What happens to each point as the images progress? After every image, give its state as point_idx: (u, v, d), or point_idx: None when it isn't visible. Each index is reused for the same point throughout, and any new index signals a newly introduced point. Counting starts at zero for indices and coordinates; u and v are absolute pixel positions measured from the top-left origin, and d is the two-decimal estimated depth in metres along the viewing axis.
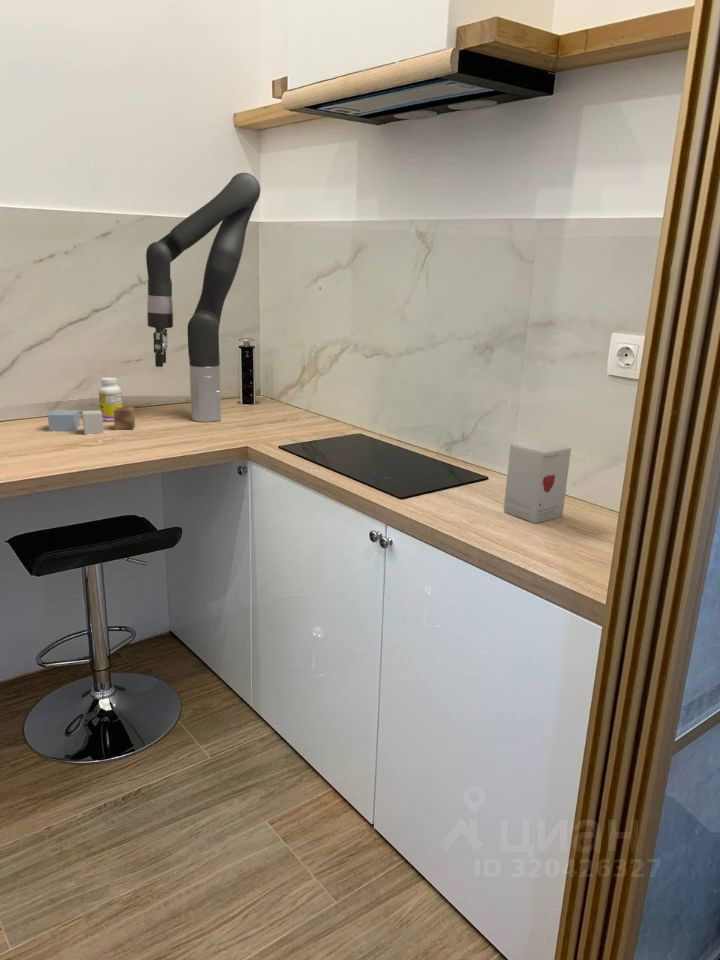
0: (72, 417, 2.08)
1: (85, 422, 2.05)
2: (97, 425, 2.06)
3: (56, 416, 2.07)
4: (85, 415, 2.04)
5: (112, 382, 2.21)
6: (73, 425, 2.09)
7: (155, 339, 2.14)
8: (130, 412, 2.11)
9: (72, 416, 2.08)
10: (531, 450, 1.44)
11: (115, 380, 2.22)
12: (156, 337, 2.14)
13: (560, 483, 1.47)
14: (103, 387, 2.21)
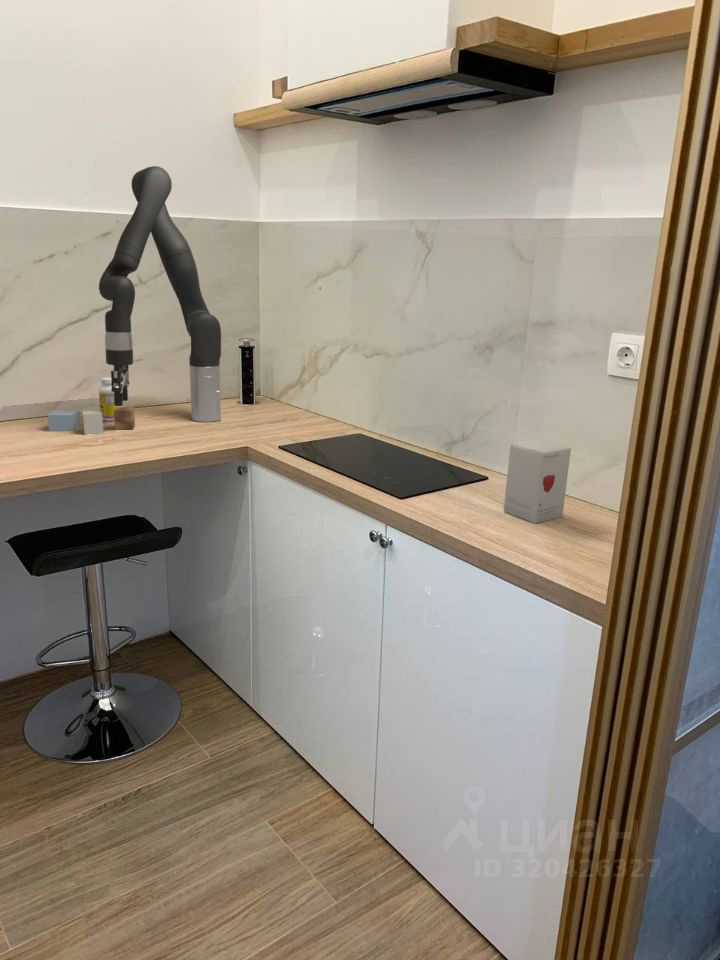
0: (72, 417, 2.08)
1: (85, 422, 2.05)
2: (97, 425, 2.06)
3: (56, 416, 2.07)
4: (85, 415, 2.04)
5: None
6: (73, 425, 2.09)
7: (113, 378, 2.04)
8: (130, 412, 2.11)
9: (72, 416, 2.08)
10: (531, 450, 1.44)
11: None
12: (114, 375, 2.04)
13: (560, 483, 1.47)
14: (103, 387, 2.21)
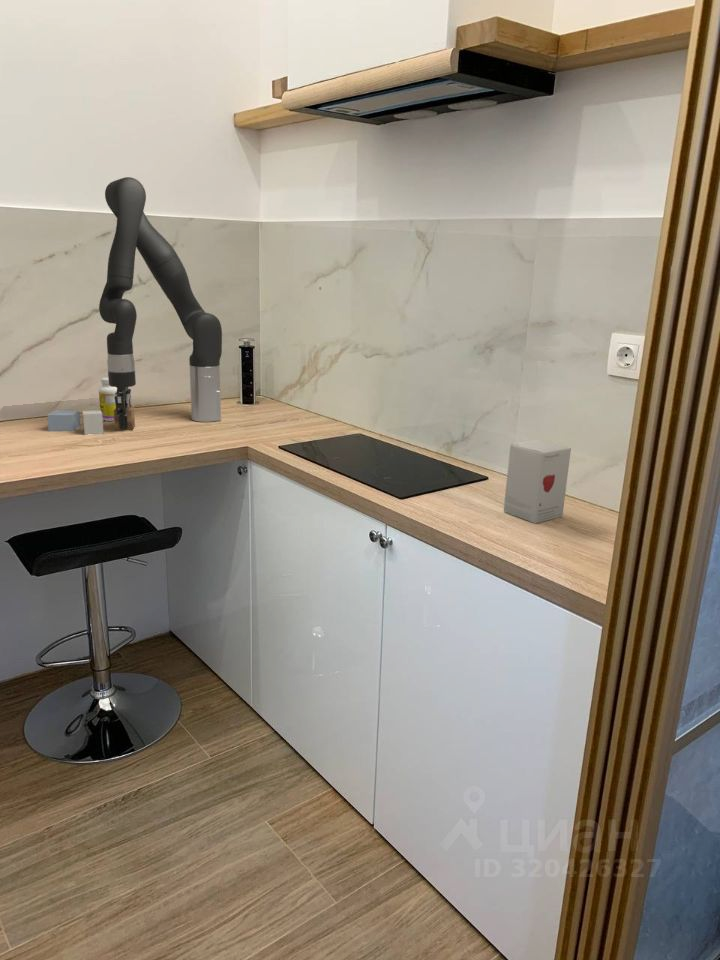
0: (71, 417, 2.08)
1: (85, 422, 2.05)
2: (97, 425, 2.06)
3: (55, 416, 2.07)
4: (85, 415, 2.04)
5: None
6: (72, 425, 2.09)
7: (117, 403, 2.06)
8: (130, 412, 2.11)
9: (71, 416, 2.08)
10: (531, 450, 1.44)
11: None
12: (118, 401, 2.06)
13: (560, 483, 1.47)
14: (103, 387, 2.21)
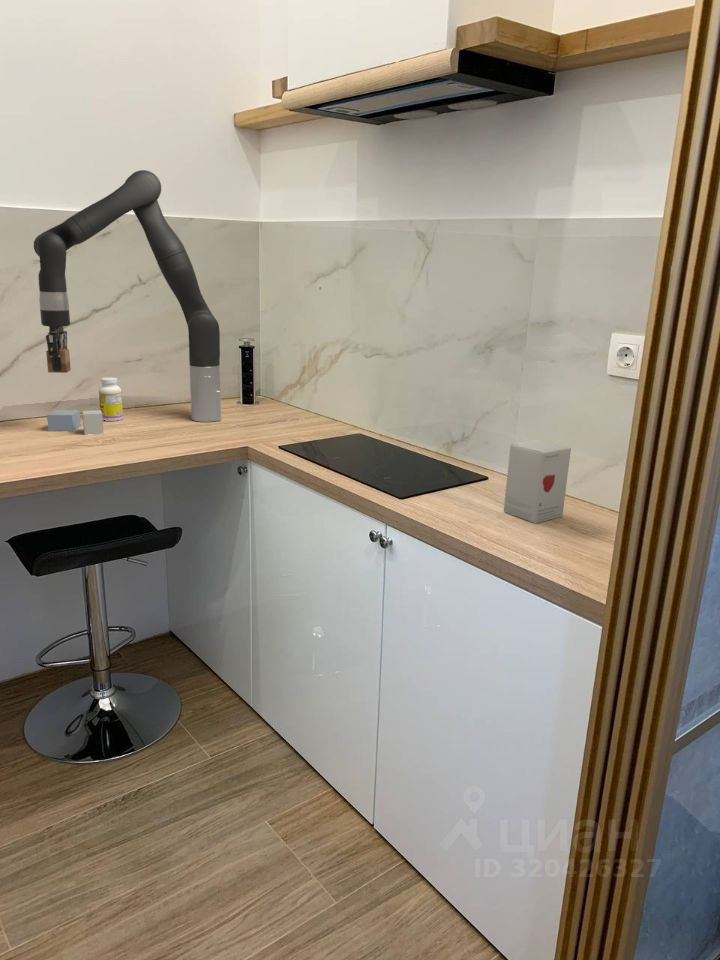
0: (70, 417, 2.08)
1: (85, 422, 2.05)
2: (97, 425, 2.06)
3: (55, 416, 2.08)
4: (85, 415, 2.04)
5: (112, 382, 2.21)
6: (72, 425, 2.09)
7: (48, 342, 1.99)
8: (64, 353, 2.04)
9: (71, 416, 2.08)
10: (531, 450, 1.44)
11: (115, 380, 2.22)
12: (50, 340, 1.98)
13: (560, 483, 1.47)
14: (103, 387, 2.21)
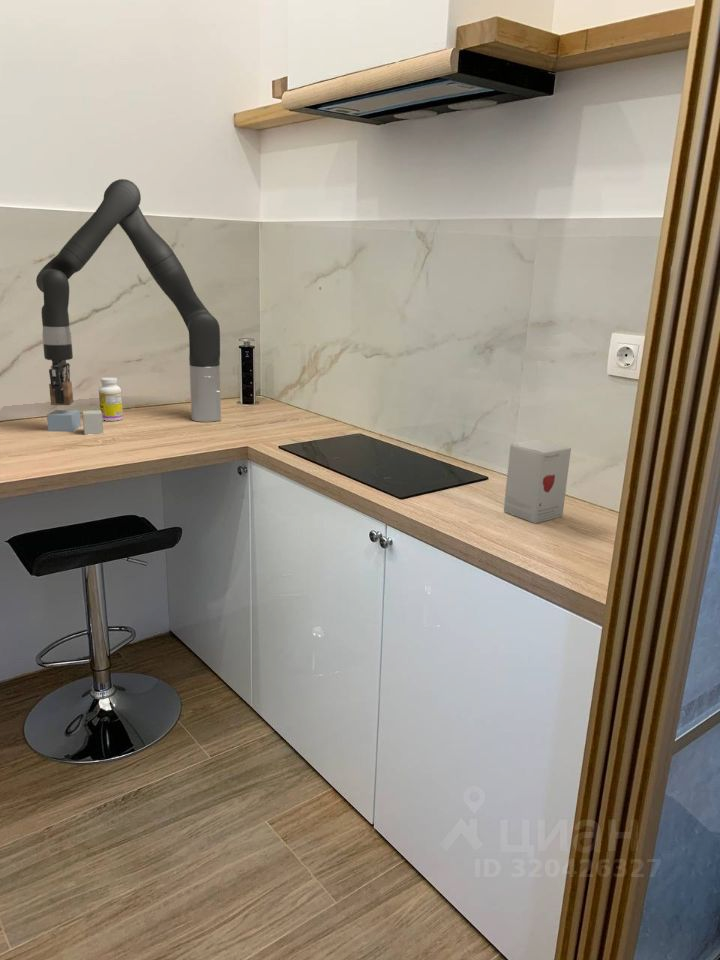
0: (70, 417, 2.08)
1: (85, 422, 2.05)
2: (97, 425, 2.06)
3: (55, 416, 2.08)
4: (85, 415, 2.04)
5: (112, 382, 2.21)
6: (71, 425, 2.09)
7: (51, 376, 2.01)
8: (66, 386, 2.06)
9: (70, 416, 2.08)
10: (531, 450, 1.44)
11: (115, 380, 2.22)
12: (52, 374, 2.01)
13: (560, 483, 1.47)
14: (103, 387, 2.21)
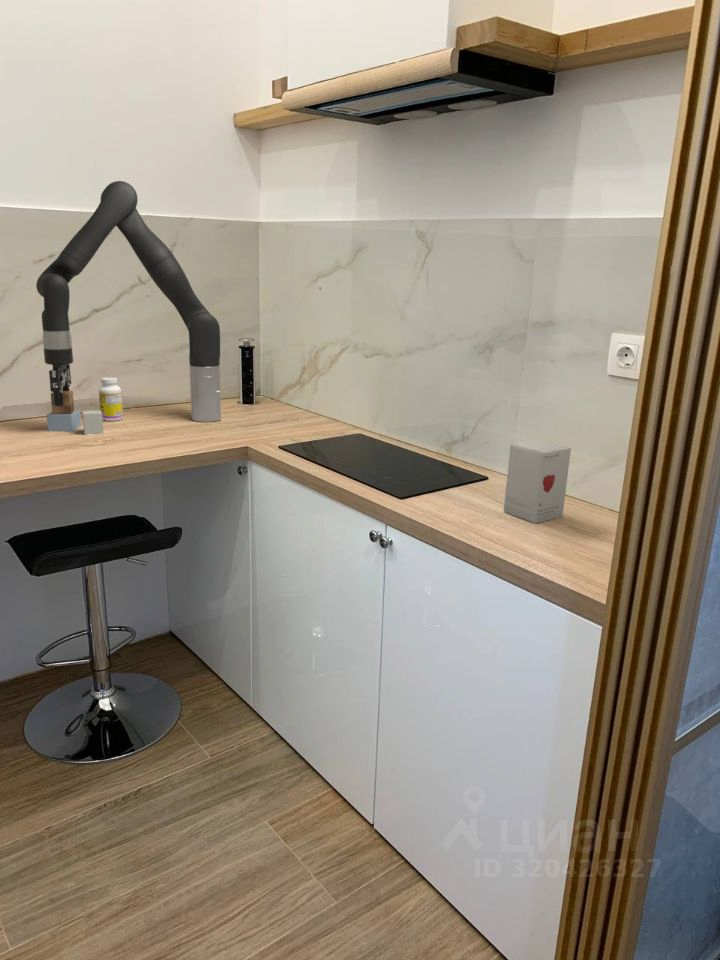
0: (70, 417, 2.08)
1: (85, 422, 2.05)
2: (97, 425, 2.06)
3: (54, 416, 2.08)
4: (85, 415, 2.04)
5: (112, 382, 2.21)
6: (71, 425, 2.09)
7: (51, 377, 2.01)
8: (68, 395, 2.07)
9: (70, 416, 2.08)
10: (531, 450, 1.44)
11: (115, 380, 2.22)
12: (52, 375, 2.01)
13: (560, 483, 1.47)
14: (103, 387, 2.21)
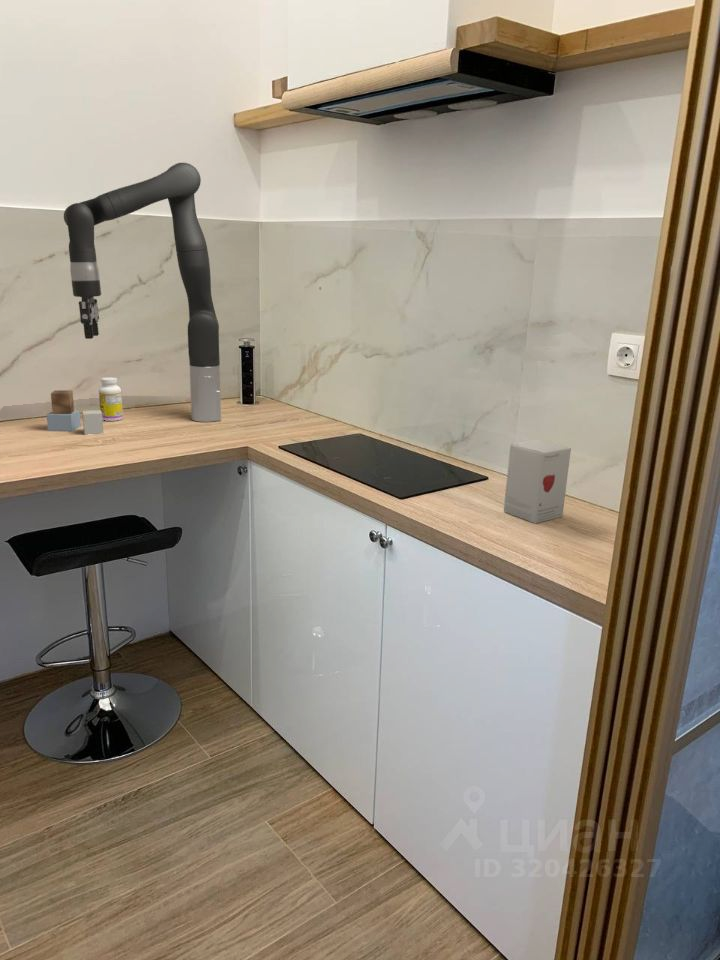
0: (70, 417, 2.08)
1: (85, 422, 2.05)
2: (97, 425, 2.06)
3: (54, 416, 2.08)
4: (85, 415, 2.04)
5: (113, 382, 2.21)
6: (71, 425, 2.09)
7: (81, 308, 2.00)
8: (68, 395, 2.07)
9: (70, 416, 2.08)
10: (531, 450, 1.44)
11: (115, 380, 2.22)
12: (82, 306, 2.00)
13: (560, 483, 1.47)
14: (103, 387, 2.21)
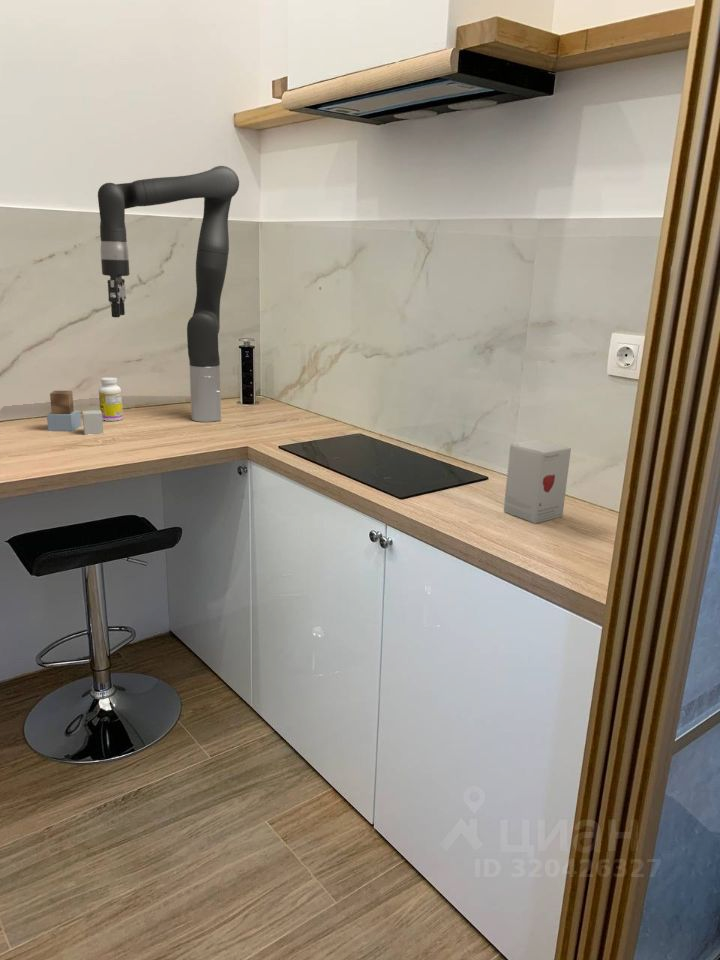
0: (70, 417, 2.08)
1: (85, 422, 2.05)
2: (97, 425, 2.06)
3: (54, 416, 2.08)
4: (85, 415, 2.04)
5: (112, 382, 2.21)
6: (71, 425, 2.09)
7: (109, 287, 2.03)
8: (67, 395, 2.07)
9: (70, 416, 2.08)
10: (531, 450, 1.44)
11: (115, 380, 2.22)
12: (111, 284, 2.03)
13: (559, 483, 1.47)
14: (103, 387, 2.21)
